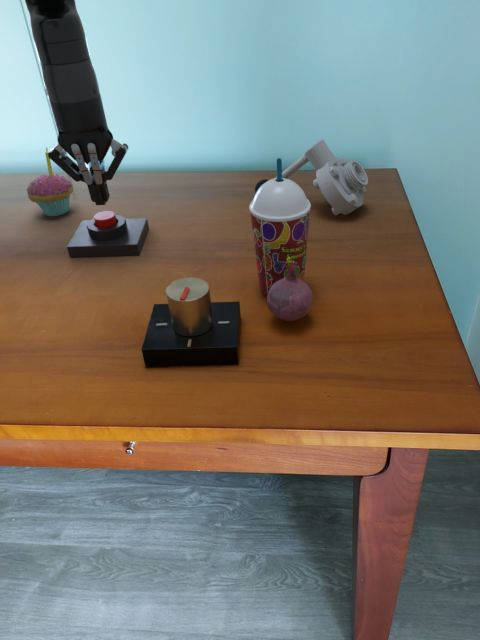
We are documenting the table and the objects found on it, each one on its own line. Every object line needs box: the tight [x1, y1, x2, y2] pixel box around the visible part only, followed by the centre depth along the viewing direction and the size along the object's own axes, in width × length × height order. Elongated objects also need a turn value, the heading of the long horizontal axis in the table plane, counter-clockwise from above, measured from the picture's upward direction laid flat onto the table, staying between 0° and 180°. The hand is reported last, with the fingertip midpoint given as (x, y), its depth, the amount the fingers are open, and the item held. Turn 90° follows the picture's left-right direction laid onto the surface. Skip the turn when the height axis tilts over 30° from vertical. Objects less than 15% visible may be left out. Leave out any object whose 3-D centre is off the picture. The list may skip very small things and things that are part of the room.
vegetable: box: [266, 257, 314, 322], centre depth 71 cm, size 6×6×10 cm
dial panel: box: [141, 300, 242, 368], centre depth 70 cm, size 12×10×3 cm
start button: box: [93, 210, 117, 228], centre depth 91 cm, size 4×4×2 cm
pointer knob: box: [165, 277, 213, 336], centre depth 68 cm, size 5×5×6 cm
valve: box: [254, 138, 369, 216], centre depth 101 cm, size 10×20×15 cm
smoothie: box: [248, 157, 312, 297], centre depth 74 cm, size 8×8×20 cm
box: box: [66, 213, 150, 259], centre depth 93 cm, size 12×10×4 cm
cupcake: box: [26, 146, 74, 217], centre depth 101 cm, size 9×8×12 cm
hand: (101, 203), depth 89 cm, fingers closed
